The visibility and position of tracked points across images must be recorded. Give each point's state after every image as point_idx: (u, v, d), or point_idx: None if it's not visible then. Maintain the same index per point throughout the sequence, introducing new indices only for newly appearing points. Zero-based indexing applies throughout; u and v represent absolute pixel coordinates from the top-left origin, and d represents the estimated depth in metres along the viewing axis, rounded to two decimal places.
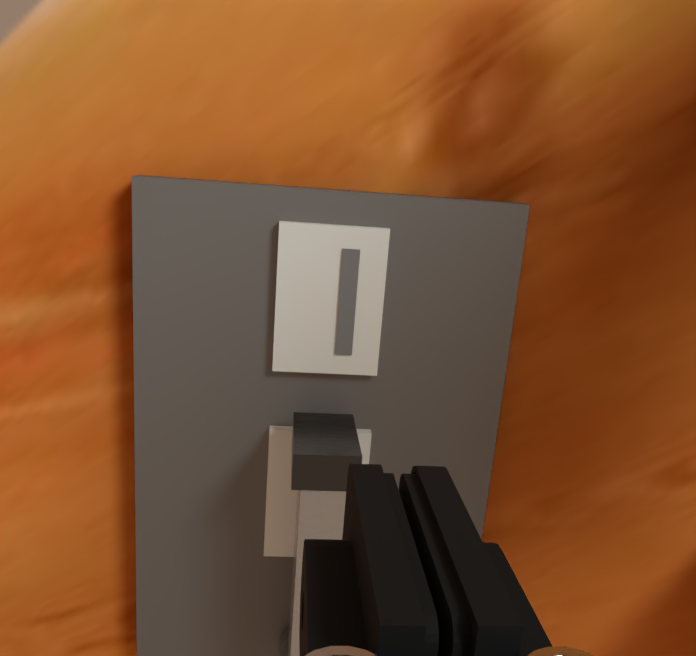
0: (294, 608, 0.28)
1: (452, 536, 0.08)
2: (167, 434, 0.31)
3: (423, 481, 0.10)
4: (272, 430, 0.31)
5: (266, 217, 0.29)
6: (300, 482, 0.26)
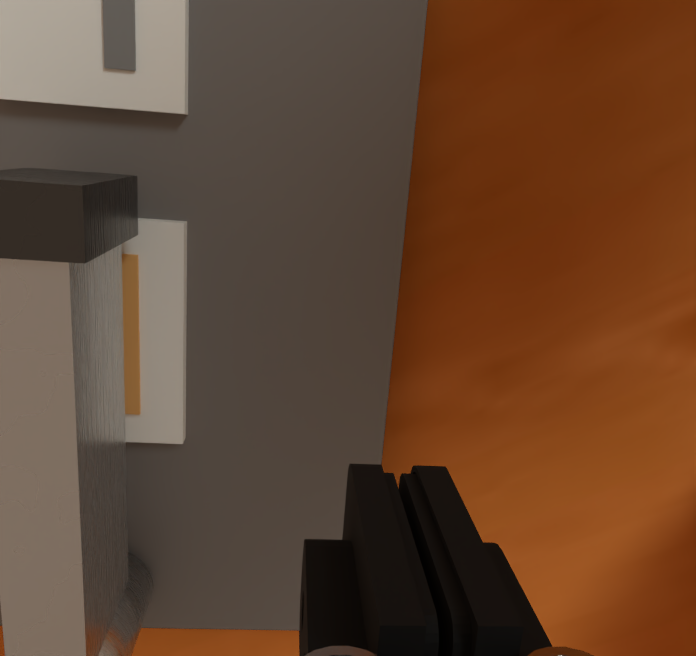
0: None
1: (452, 536, 0.08)
2: None
3: (423, 481, 0.10)
4: None
5: None
6: None
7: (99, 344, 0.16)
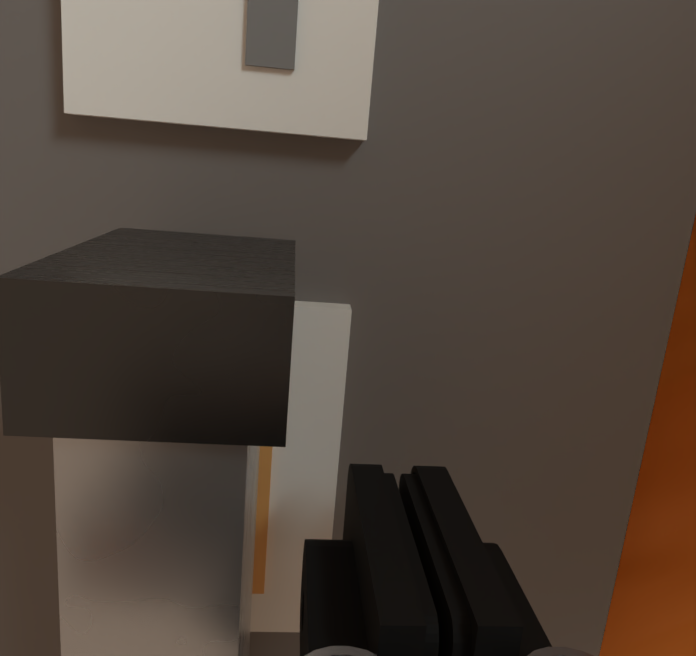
0: None
1: (451, 536, 0.08)
2: None
3: (423, 481, 0.10)
4: None
5: None
6: (39, 404, 0.06)
7: (250, 539, 0.09)
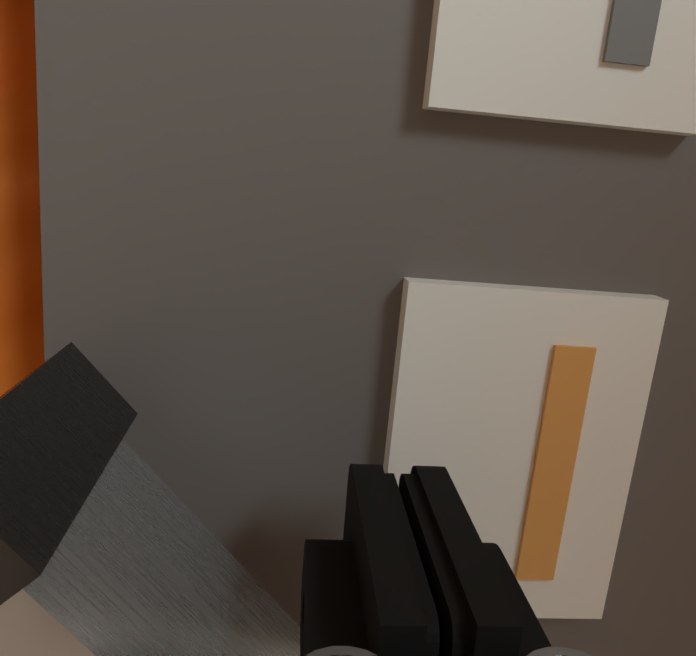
0: None
1: (451, 536, 0.08)
2: (133, 294, 0.12)
3: (422, 481, 0.10)
4: (416, 284, 0.11)
5: None
6: None
7: (194, 617, 0.09)
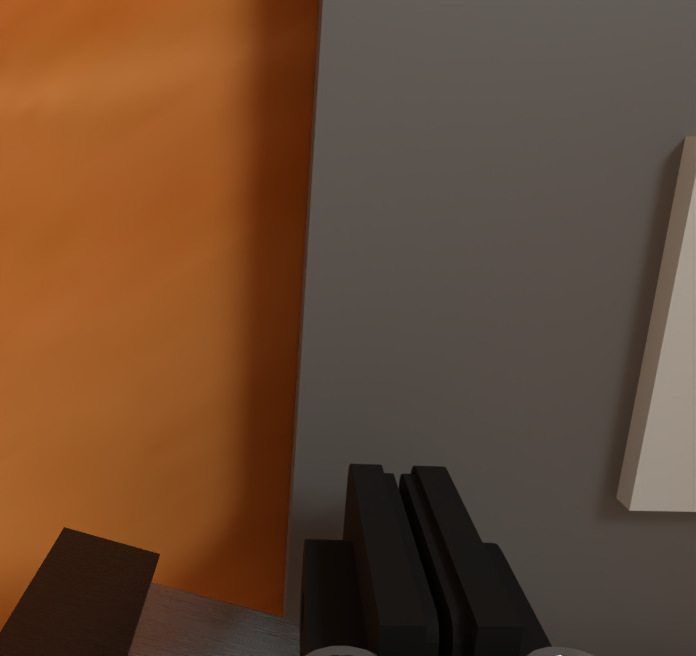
0: None
1: (451, 536, 0.08)
2: (406, 152, 0.11)
3: (423, 481, 0.10)
4: None
5: None
6: None
7: None
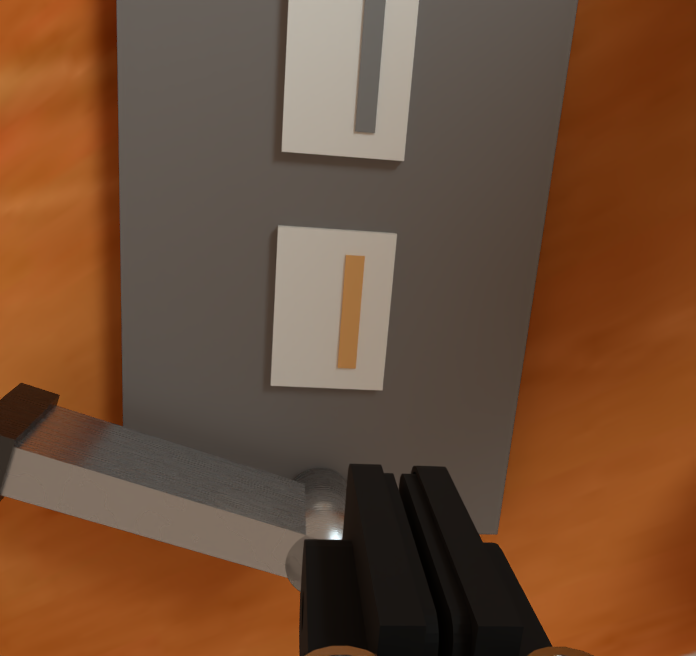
0: (156, 539, 0.24)
1: (452, 536, 0.08)
2: (158, 233, 0.27)
3: (423, 481, 0.10)
4: (281, 227, 0.26)
5: None
6: None
7: (97, 445, 0.25)
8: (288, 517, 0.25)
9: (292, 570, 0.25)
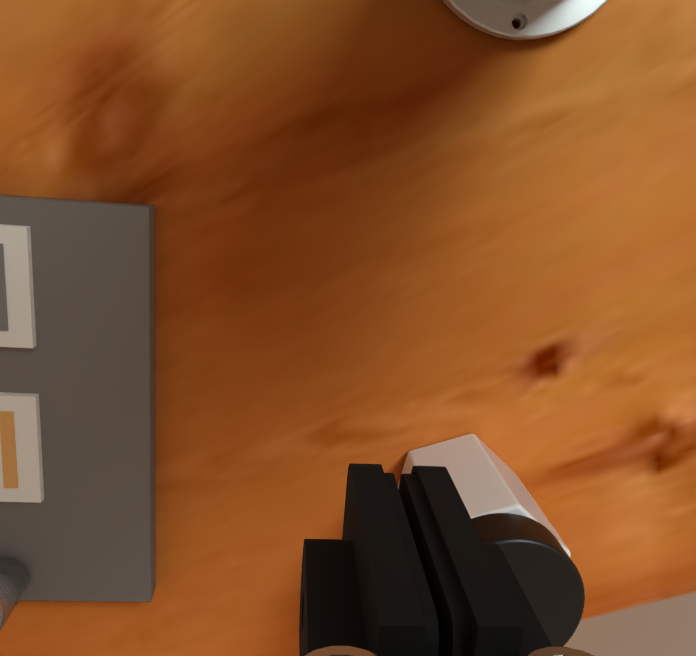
0: None
1: (452, 536, 0.08)
2: None
3: (423, 481, 0.10)
4: None
5: None
6: None
7: None
8: None
9: None
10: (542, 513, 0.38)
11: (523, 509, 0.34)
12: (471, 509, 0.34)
